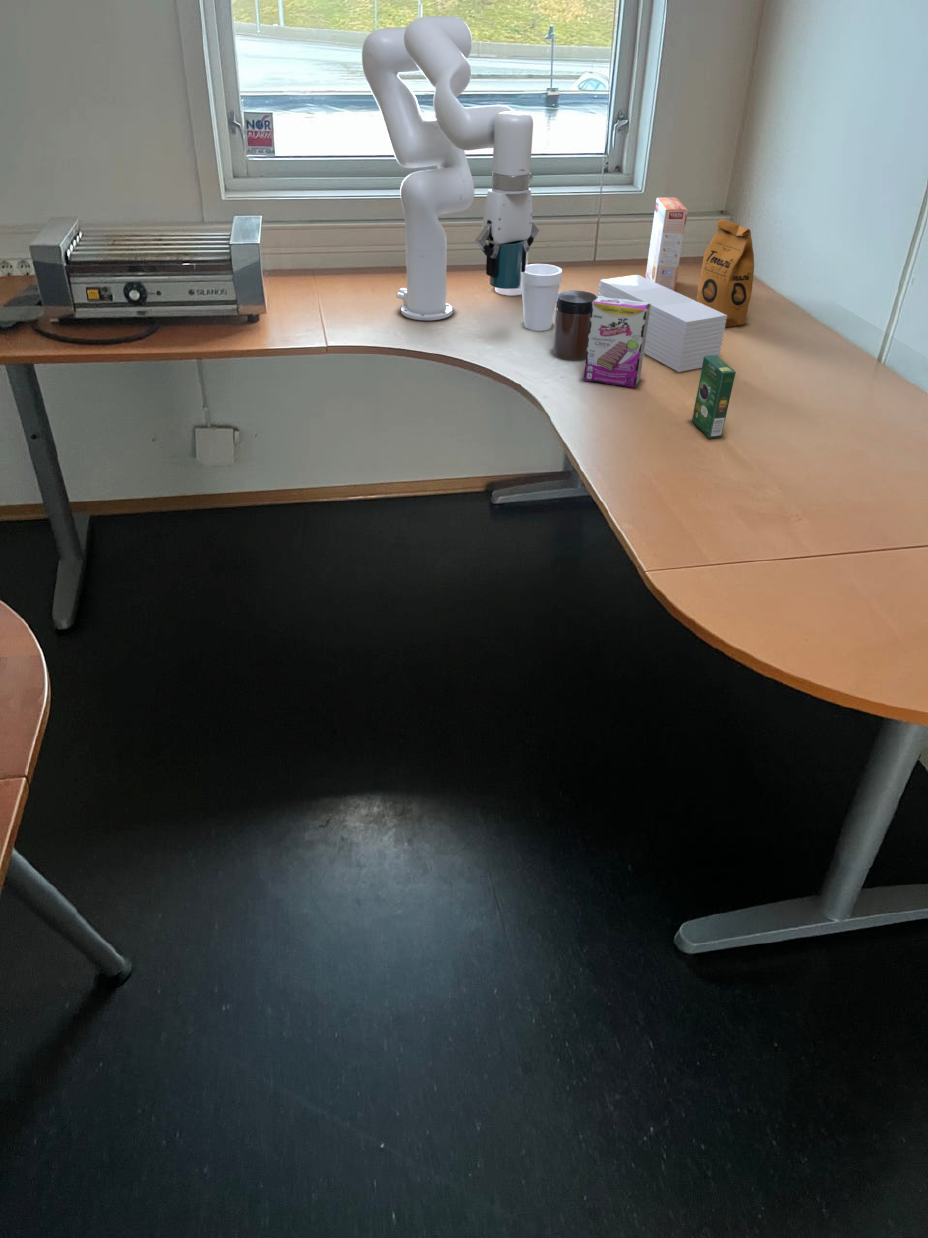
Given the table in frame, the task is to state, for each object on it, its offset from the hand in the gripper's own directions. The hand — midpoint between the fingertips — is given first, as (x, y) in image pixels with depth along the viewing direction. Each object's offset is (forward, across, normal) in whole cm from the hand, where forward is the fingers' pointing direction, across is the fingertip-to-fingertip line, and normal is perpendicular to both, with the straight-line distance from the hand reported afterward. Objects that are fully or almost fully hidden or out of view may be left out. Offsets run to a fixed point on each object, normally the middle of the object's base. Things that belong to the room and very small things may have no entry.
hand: (505, 272), depth 194 cm
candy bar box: (+16, -7, +28) cm, 33 cm away
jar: (+16, -11, +11) cm, 23 cm away
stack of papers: (+17, -30, +17) cm, 39 cm away
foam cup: (+17, -16, -7) cm, 25 cm away
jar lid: (+5, -11, +11) cm, 16 cm away
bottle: (+17, -28, -32) cm, 46 cm away
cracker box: (+17, -64, -12) cm, 67 cm away
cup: (+2, 0, 0) cm, 2 cm away
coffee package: (+17, -56, +14) cm, 61 cm away
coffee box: (+16, -5, +55) cm, 58 cm away
